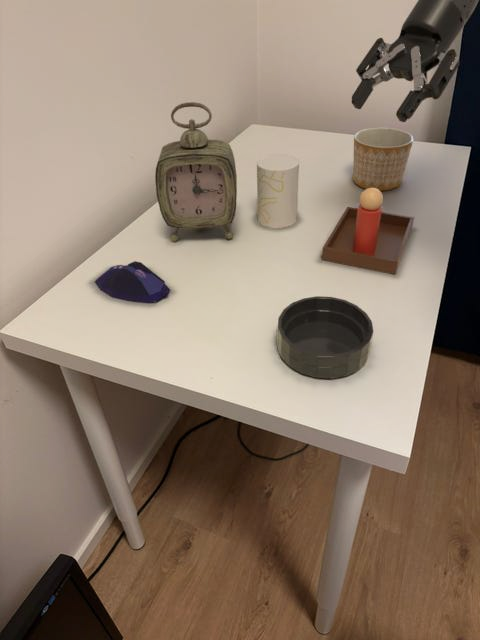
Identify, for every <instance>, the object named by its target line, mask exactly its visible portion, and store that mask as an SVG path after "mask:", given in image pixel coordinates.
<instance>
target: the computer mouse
mask: <svg viewBox="0 0 480 640" xmlns="http://www.w3.org/2000/svg"><path fill="white" fill-rule="evenodd" d="M94 283H95V285H96V286H97V288H98V289H99V290H100V291H101V292H103V293H105V294H106V295H107V296H109V297H110V298H112V299H113V298H114V299H119V300H122V301H127V302H131V303H132V302H133V303H142V304H152V303H155V302H158V301H159V300H161V299H163V298H164V297H166V296H167V295H168V294H169V292H170V291H171V289H170V288H169V286H168V285H166V281H165V280H163V279H162V278H161V277H160V276H159V275H157V274H156V273H155V272H153V271H152V270H151V269H150V268H148V266H146V265H145V264H143V263H142V262H141V261H137V260H136V261H135V260H134V261H132V262H130V263H128V264H127V265H123V264H117V265H113V266H111V267H110V268H109V269H106V271H105V272H103V274H101V275H100V276H99V277H98V278H96V279H95V280H94Z"/></svg>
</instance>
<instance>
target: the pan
mask: <svg viewBox="0 0 480 640" xmlns="http://www.w3.org/2000/svg"><path fill="white" fill-rule="evenodd" d="M373 336H374V324H373V321H372V320H371V318H370V317H369V314H368V313H367V312H366V311H364V310H363V309H362V308H361V307H359V305H356V304H355V303H353V302H350V301H349V300H346V299H342V298H338V297H333V296H322V295H321V296H309V297H305V298H300V299H298V300H296V301H294V302H293V301H292V303H290V304H289V305H288V306H286V307H285V308H283V309H282V311H281V313H280V315H279V317H278V319H277V344H276V345H277V346H276V347H277V350H278V354H279V356H280V358H281V359H282V360H283V361H284V362H285V363H286V364H287V366H288V367H290V368H291V369H293V370H295V371H297V372H298V373H300V374H301V375H306V376H309V377H312V378H316V379H337V378H343V377H347V376H349V375H351V374H353V373H355V372H358V371H359V370H360V369H361V368H362V367H363V366H364V365H365V364H366V363H367V362H368V358H369V356H370V353H371V347H372V342H373Z"/></svg>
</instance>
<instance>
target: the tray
mask: <svg viewBox="0 0 480 640" xmlns="http://www.w3.org/2000/svg"><path fill="white" fill-rule="evenodd" d="M357 212H358V207H352V206H346V208H345V210H344V212H343V213H342V215H341V217H340V218H339V220H338V221H337V223H336V224H335V226H334V228H333V230H332V231H331V233H330V234H329V237H328V238H327V240H326V242H325V243H324V245H323V246H322V251H321V252H322V253H321V261H325V262H330V263H334V264H340V265H346V266H350V267H355V268H361V269H365V270H369V271H370V270H371V271H375V272H379V273H380V272H381V273H386V274H390V275H397V272H398V269H399V266H400V263H401V260H402V257H403V255H404V252H405V250H406V247H407V244H408V241H409V238H410V235H411V232H412V230H413V225H414V220H415V217H414V216H408V215H404V214H403V215H402V214H396V213H390V212H383V211H382V212H381V218H380V225H379V231H378V237H377V243H376V249H375V255H374V256H373V255H367V254H362V253H357V252H352V251H353V243H354V235H355V227H356V219H357Z"/></svg>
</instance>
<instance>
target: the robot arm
mask: <svg viewBox="0 0 480 640" xmlns="http://www.w3.org/2000/svg"><path fill="white" fill-rule="evenodd" d="M479 1H480V0H417V1H416V3H415V5H414V6H413V8H412V9H411V11H410V12H409V14H408V15H407V17H406V19H405V20H404V22H403V23H402V25H401V29H400V32H399V36H398V37H397V38H396V40H395V41H393V42H392V43H387V42H385V40H384V38H383V37H379V38H377V39H376V40H375V42H374V43H373V44H372V46H371V48H370V49H369V50H368V51H367V53H366V54H365V56H364V58H363V59H362V60H361V61H360V64H359V65H358V66H357V68H356V69H355V71H356V73H357V75H358V77H359V78H360V80H361V81H360V83H359V84H358V86H357V88H356V89H355V90H354V92H353V93H352V95H351V104H352V106H353V107H354V109H357V110H361V109H362V108H363V106H364V105H365V104H366V102H367V100H368V98H369V97H370V96H371V95H372V92H373V91H374V88H375V87H377V86H378V85H381V84H382V83H383V82H387V83H388V82H389V81H391V80H392V79H393V78H394V79H399V80H400V79H401V80H402V79H404V80H406V81H407V82H413V90H409V92H408V94H407V95H406V96H405V98H404V100H403V101H402V103H401V104H400V106H399V107H398V108H397V110H396V113H395V116H396V118H397V119H398V121H399V122H401V123H406V122H407V120H410V119H411V118H412V117H413V116H414V114H415V113H416V111H417V109H418V108H419V106H420V105H421V103H422V102H424V101H425V100H427V99H433V100H438V99H440V98H441V97H442V95H443V93H444V91H445V90H446V89H447V87H448V84H449V83H450V81H451V80H452V78H453V76H454V75H455V72H457V70H458V68H459V66H460V64H461V63H460V60H459V56H458V54H457V52H456V50H455V49H454V48H451V46H452V45H453V43H454V41H455V40H456V39H457V37H458V35H459V34H460V33H461V31H462V29H463V28H464V26H465V25H466V24H467V22H468V20H469V19H470V17H471V16H472V14H473V13H474V11H475V9H476V7H477V5H478V3H479ZM450 48H451V49H450ZM387 65H388V69H389V70H386V69H385V67H386V66H387ZM437 66H438V67H437ZM436 67H437V68H436ZM434 68H436V69H435V71H434V73H433V75H432V77H431V78H430V80H429V78H428V77H429V74H428V72H430V71H431V70H433V69H434Z"/></svg>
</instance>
